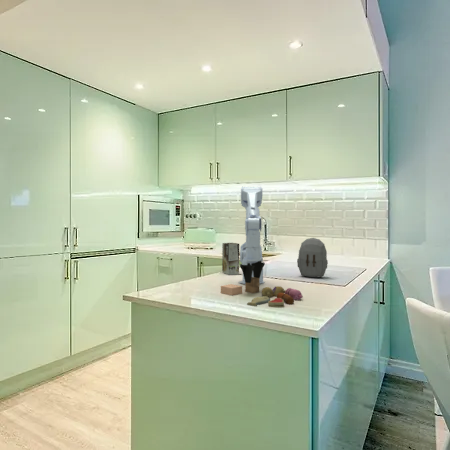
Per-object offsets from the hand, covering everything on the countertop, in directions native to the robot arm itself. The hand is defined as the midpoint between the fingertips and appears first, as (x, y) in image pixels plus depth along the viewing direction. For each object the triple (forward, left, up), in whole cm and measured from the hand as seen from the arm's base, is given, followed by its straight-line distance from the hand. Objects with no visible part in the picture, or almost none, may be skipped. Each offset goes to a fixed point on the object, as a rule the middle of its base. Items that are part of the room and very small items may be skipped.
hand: (252, 281), depth 142 cm
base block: (+8, -4, -5) cm, 10 cm away
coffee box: (-27, -38, -5) cm, 46 cm away
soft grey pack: (-49, -2, -5) cm, 49 cm away
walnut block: (0, 0, -4) cm, 4 cm away
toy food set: (+3, +15, -5) cm, 17 cm away
